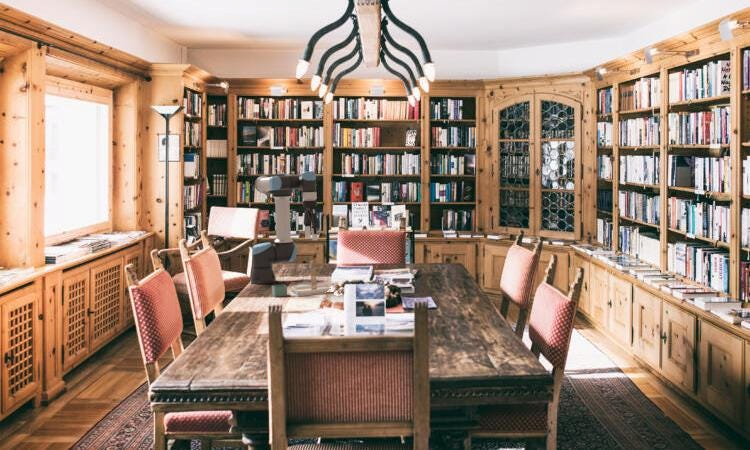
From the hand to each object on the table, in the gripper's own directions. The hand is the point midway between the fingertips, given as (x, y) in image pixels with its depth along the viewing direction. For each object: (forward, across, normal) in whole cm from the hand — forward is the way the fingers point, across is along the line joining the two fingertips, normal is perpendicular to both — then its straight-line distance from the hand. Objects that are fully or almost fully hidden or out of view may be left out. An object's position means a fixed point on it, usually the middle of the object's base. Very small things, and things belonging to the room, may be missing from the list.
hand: (311, 239), depth 372 cm
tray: (+29, 0, 0) cm, 29 cm away
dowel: (+28, 0, 0) cm, 28 cm away
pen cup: (+29, -1, -19) cm, 34 cm away
